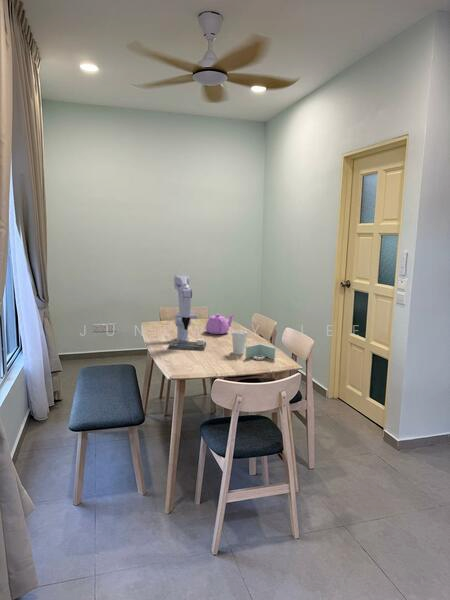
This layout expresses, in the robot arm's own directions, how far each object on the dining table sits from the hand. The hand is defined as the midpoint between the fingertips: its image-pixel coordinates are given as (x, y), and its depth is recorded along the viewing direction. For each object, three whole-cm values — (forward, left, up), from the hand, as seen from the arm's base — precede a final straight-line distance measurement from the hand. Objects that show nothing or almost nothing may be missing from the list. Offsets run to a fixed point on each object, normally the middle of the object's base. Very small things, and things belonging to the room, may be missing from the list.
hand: (185, 329), depth 260 cm
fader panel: (+4, +2, -10) cm, 11 cm away
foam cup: (+12, +34, -11) cm, 37 cm away
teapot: (-40, +20, -11) cm, 46 cm away
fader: (+4, +10, -8) cm, 13 cm away
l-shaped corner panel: (+23, +46, -11) cm, 53 cm away
